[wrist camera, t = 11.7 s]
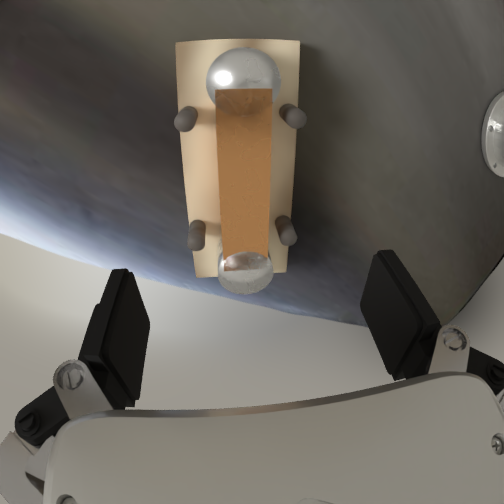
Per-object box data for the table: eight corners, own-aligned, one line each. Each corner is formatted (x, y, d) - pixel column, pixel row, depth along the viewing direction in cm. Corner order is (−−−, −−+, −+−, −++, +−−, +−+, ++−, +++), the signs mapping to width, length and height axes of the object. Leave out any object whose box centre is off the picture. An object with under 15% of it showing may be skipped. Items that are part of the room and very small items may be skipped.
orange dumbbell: (272, 49, 21) (281, 47, 17) (266, 267, 34) (272, 292, 30) (207, 50, 20) (205, 48, 17) (219, 270, 33) (219, 295, 30)
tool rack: (294, 42, 22) (310, 39, 18) (282, 261, 36) (291, 290, 32) (178, 43, 21) (170, 40, 17) (197, 266, 35) (195, 296, 31)
